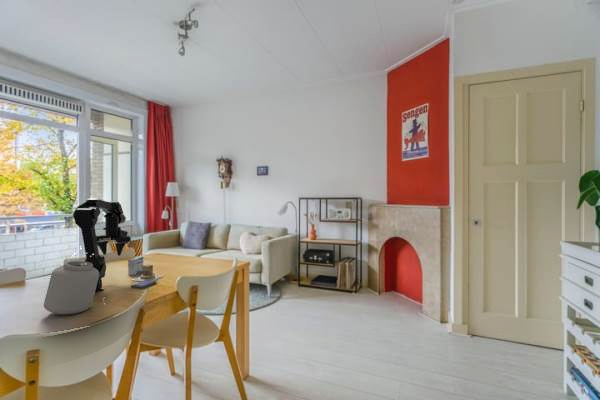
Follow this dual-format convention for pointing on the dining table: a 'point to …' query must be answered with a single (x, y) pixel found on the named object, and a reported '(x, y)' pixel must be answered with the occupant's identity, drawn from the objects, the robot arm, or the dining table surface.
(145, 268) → the stamp
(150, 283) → the ink pad
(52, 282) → the jar
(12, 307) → the dining table surface
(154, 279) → the mat
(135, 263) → the medicine box
